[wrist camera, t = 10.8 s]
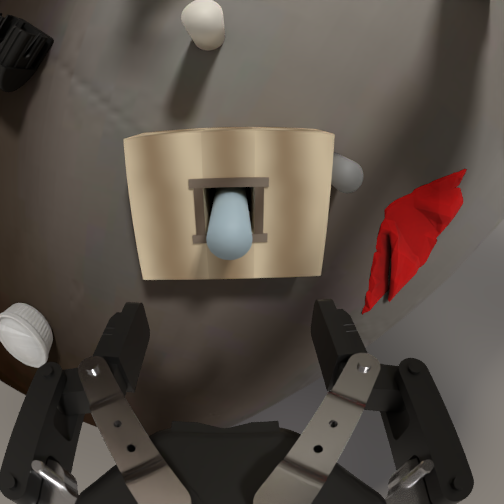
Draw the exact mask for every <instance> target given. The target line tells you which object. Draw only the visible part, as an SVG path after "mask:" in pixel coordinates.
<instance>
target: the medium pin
mask: <svg viewBox="0 0 504 504" xmlns="http://www.w3.org/2000/svg"><path fill="white" fill-rule="evenodd" d="M181 20H182V23H183V25H184V27H185V28H186V30H187V32H188V33H189V35H190V37H191V38H192V40H193V41H194V43H195V45H196V46H197V47H198V48H200V49H202V50H206V51H210V50H214V49H217V48H218V47H220V46H221V45H222V44H223V42H224V40H225V29H224V20H223V12H222V9H221V7H220V5H219V4H217V3H216V2H214V1H212V0H196V1H193V2H191V3H190V4H188V5H187V6H186V7H185V8H184V10H183V12H182V15H181Z"/></svg>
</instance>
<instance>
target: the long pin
mask: <svg viewBox="0 0 504 504" xmlns="http://www.w3.org/2000/svg"><path fill="white" fill-rule="evenodd" d="M206 241H207V246H208V248H209V250H210V251H211V252H212V253H213V254H214V255H215V256H217V257H218V258H221V259H224V260H235V259H238V258H241V257H242V256H244V255H245V254H246V253H247V252H248V251H249V250H250V248H251V245H252V231H251V224H250V217H249V210H248V203H247V196H246V189H245V187H219V188H216V192H215V197H214V202H213V207H212V212H211V216H210V221H209V226H208V232H207V237H206Z"/></svg>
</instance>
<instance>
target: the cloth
mask: <svg viewBox="0 0 504 504" xmlns="http://www.w3.org/2000/svg"><path fill="white" fill-rule="evenodd" d="M466 170H467V169H464V170H461V171H459V172H456V173H453V174H451V175H448V176H445V177H442V178H440V179H437V180H434V181H432V182H431V183H429V184H426V185H423V186H420V187H418V188H416V189H414V191H413V192H412V193H411V194H408V195H406V196H403V197H401V198H399V199H397V200H395V201H394V202H392V203H391V204H390V205H389V206H388V207H387V208H386V209H385V219H384V221H383V222H382V223H381V226H380V230H379V233H378V237H377V245H376V249H377V252H375V253H374V257H373V264H372V268H371V276H370V279H369V290H368V291H367V293H366V299H365V306H364V308H363V311H362V314H363V313H365V312H368V311H370V310H371V309H372V307H373V306H374V305H375V304H376V303H377V301H378V300H379V299H380V298H381V297H382V296H383V295H384V294H385V293H386V292H387V291H388V290H389V294H388V300H389V302H390V301H391V300H392V299H393V297H394V296H395V295H396V294H397V293H398V292H399V291H400V290H401V288H402V287H403V286H404V285H405V284H406V283H407V282H408V281H409V280H410V279H411V278H412V277H413V276H414V275H415V274H416V273H417V271H418V268H420V267H421V266H422V265H424V263H425V262H426V261H427V259H428V257H429V255H430V253H431V251H432V249H433V247H434V245H435V244H436V242H437V239H436V238H437V237H438V236H439V234H440V233H441V232H442V231H443V230H444V229H445V228H446V227H447V226H448V224H449V223H450V222H451V221H452V219H453V218H454V217H455V215H456V214H457V212H458V211H459V209H460V207H461V206H462V204H463V197H462V193H461V189H460V188H456V187H457V186H458V185H459V184H460V182H461V180H462V178H463V176H464V174H465V172H466ZM390 259H391V275H390V286H389V285H388V275H389V267H390Z"/></svg>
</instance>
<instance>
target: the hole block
mask: <svg viewBox="0 0 504 504" xmlns="http://www.w3.org/2000/svg"><path fill="white" fill-rule="evenodd" d="M124 151H125V162H126V172H127V181H128V190H129V198H130V206H131V213H132V219H133V226H134V232H135V238H136V244H137V250H138V255H139V261H140V266H141V271H142V276H143V280H189V279H241V278H276V277H304V276H321V270H322V263H323V255H324V247H325V239H326V230H327V221H328V212H329V201H330V190H331V179H332V166H333V151H334V134H332V133H328V132H325V131H321V130H317V129H305V128H282V127H220V128H197V129H181V130H168V131H157V132H148V133H142V134H138V135H135V136H132V137H129V138H125V139H124ZM219 187H251V211H249V217H250V224H251V231H252V245H251V248H250V250H249V251H248V252H247V253H246V254H245V255H244V256H242V257H241V258H238V259H235V260H224V259H221V258H218V257H217V256H215V255H214V254H213V253H212V252H211V251H210V250H209V248H208V246H207V241H206V237H207V232H208V226H209V221H210V216H211V212H210V194H209V188H219Z"/></svg>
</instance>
